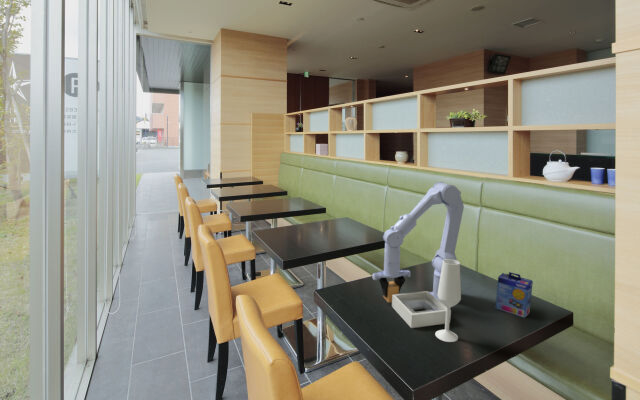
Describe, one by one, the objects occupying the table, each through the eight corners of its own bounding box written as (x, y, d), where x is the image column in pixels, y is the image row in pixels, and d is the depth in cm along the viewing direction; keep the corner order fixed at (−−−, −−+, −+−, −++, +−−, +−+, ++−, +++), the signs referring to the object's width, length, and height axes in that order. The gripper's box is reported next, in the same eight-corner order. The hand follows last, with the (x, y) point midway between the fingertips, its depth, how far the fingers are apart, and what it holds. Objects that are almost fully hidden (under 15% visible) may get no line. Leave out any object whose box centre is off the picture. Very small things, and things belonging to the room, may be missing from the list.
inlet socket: (425, 306, 126) (425, 298, 126) (440, 319, 116) (441, 311, 116) (399, 309, 124) (400, 301, 123) (413, 323, 114) (413, 314, 114)
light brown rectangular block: (392, 295, 134) (393, 281, 133) (398, 301, 130) (399, 286, 129) (383, 296, 134) (383, 282, 133) (388, 302, 129) (388, 287, 128)
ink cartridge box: (494, 308, 124) (497, 270, 121) (499, 303, 128) (503, 266, 125) (525, 318, 117) (529, 278, 115) (529, 312, 121) (534, 273, 118)
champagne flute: (450, 328, 111) (455, 257, 107) (462, 340, 104) (468, 265, 100) (431, 330, 110) (435, 258, 106) (441, 343, 103) (446, 266, 99)
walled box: (426, 302, 129) (427, 291, 128) (450, 322, 114) (450, 310, 114) (391, 306, 126) (392, 294, 125) (411, 328, 112) (411, 315, 111)
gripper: (405, 256, 134) (403, 289, 137) (369, 259, 131) (369, 292, 134) (413, 262, 128) (412, 297, 130) (376, 265, 125) (375, 301, 127)
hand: (390, 295), depth 131 cm, fingers closed on light brown rectangular block, 4 cm apart
